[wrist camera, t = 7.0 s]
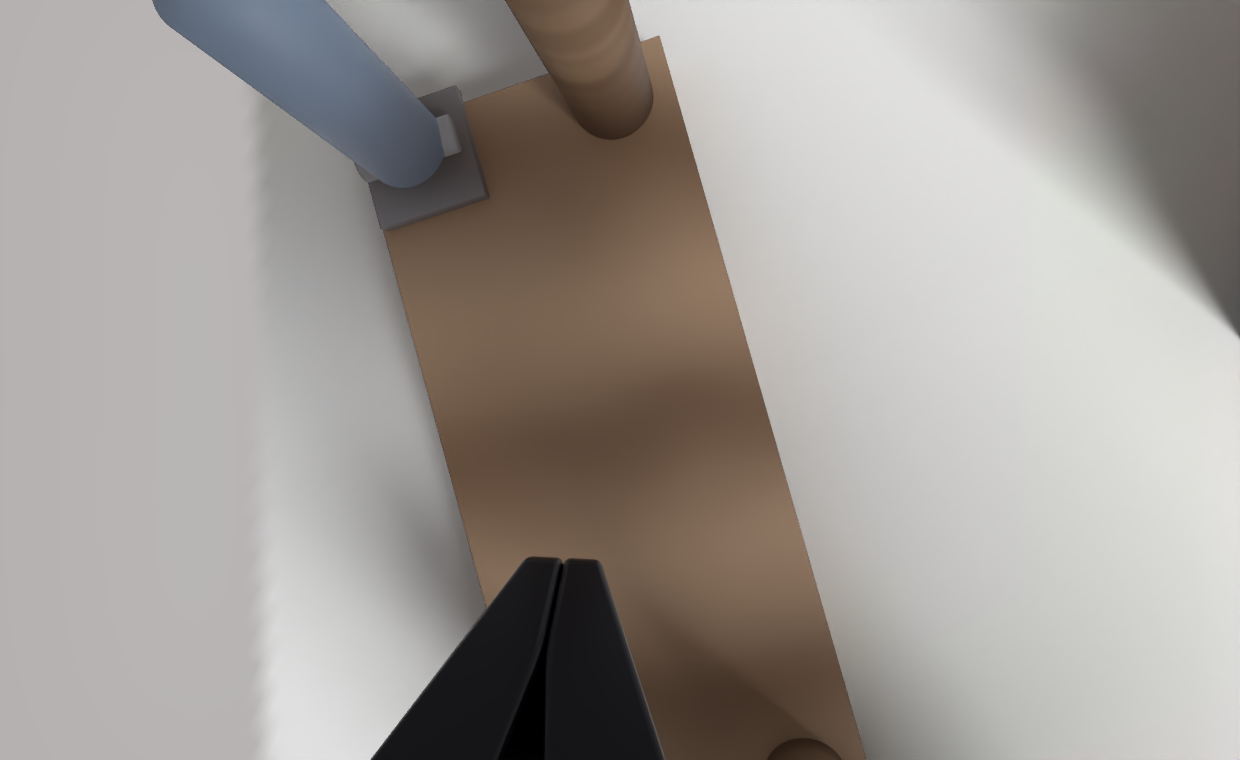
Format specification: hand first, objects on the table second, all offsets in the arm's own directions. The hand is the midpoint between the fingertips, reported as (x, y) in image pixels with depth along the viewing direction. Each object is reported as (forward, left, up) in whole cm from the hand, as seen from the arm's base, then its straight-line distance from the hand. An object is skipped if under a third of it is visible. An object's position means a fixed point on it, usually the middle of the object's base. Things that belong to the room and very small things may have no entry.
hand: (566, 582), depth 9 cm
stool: (0, +1, -12) cm, 12 cm away
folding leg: (+5, +8, -10) cm, 14 cm away
